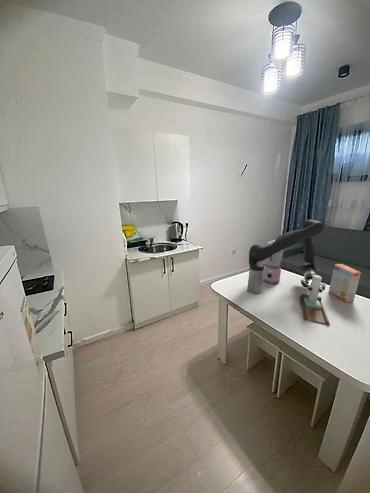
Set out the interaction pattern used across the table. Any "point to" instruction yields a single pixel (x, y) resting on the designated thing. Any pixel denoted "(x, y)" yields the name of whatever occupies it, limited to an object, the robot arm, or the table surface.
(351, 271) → the cracker box
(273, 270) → the blender
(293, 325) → the table surface
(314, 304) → the keeper
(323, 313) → the rail board
